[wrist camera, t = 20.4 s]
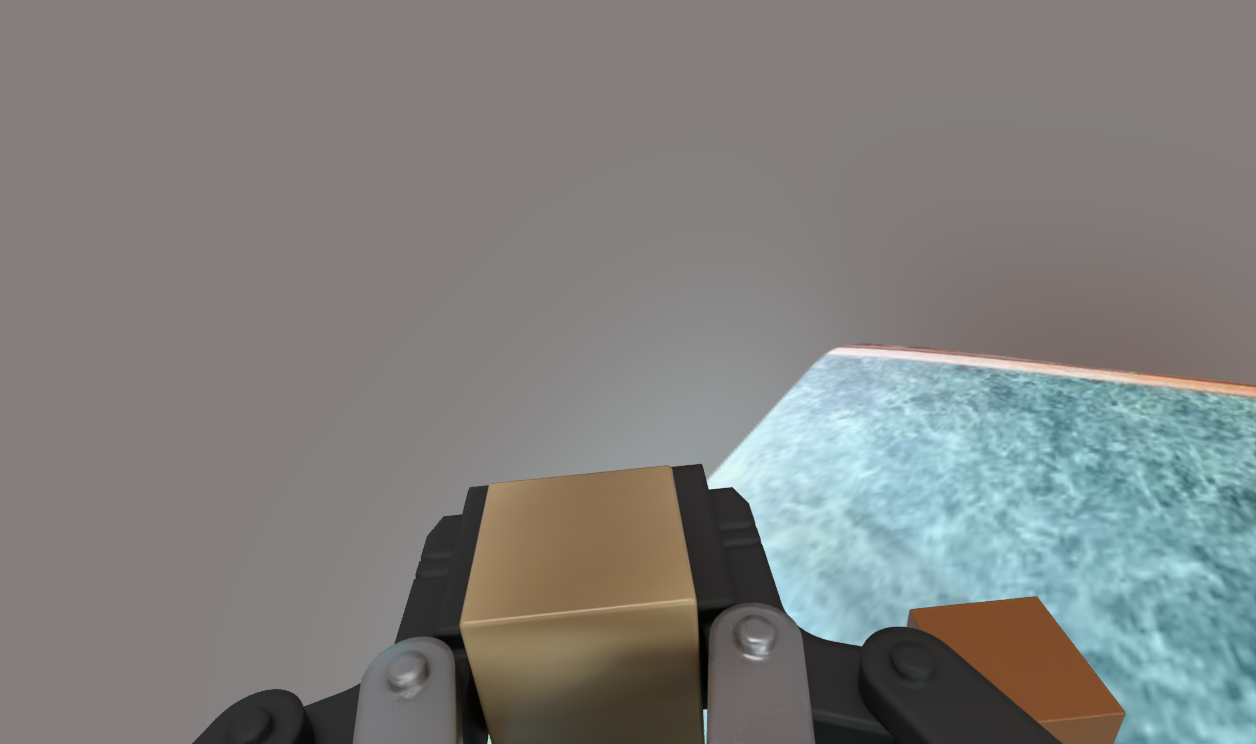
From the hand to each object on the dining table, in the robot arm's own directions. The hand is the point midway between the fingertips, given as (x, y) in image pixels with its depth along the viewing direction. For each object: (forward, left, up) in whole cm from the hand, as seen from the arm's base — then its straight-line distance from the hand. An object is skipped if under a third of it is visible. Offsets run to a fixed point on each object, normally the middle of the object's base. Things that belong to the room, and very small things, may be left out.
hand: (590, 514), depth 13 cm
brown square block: (+11, +7, -13) cm, 18 cm away
